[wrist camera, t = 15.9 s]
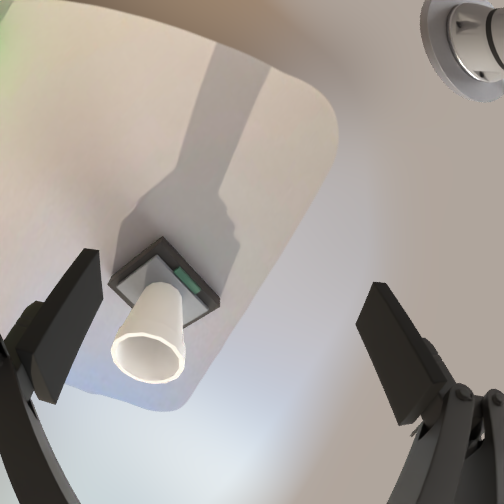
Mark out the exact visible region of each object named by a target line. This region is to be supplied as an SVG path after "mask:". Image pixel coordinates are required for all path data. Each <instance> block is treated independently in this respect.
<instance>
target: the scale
mask: <svg viewBox="0 0 504 504" xmlns="http://www.w3.org/2000/svg"><path fill="white" fill-rule="evenodd" d="M156 282H164V283H168V284H171V285H172V286H173V287H175V288H176V289H178V291H179V293H180V294H181V296H182V317H183V329H184V328H185V327H187V326H189V325H190V324H192V323H194V322H195V321H197V320H199V319H200V318H202V317H204V316H205V315H207V314H209V313H210V312H212V311H214V310H215V309H217V308H219V307H220V298H219V297H218V296H217V294H216V293H215V292H214V291H213V290H212V289H211V288H210V287H209V286H208V285H207V284H206V283H205V282H204V281H203V280H202V279H201V278H200V276H199V275H198V274H197V273H196V272H195V271H194V270H193V269H192V268H191V267H190V266H189V265H188V263H187V262H186V261H185V260H184V259H183V258H182V257H181V256H180V255H179V254H178V253H177V251H176V250H175V249H174V248H173V247H172V246H171V245H170V244H169V243H168V242H167V240H166V239H165V238H164V237H161V238H160V239H159V240H157V241H156V242H155V243H154V244H152V245H151V246H150V247H148V248H147V249H146V250H144V251H143V252H142V253H141V254H139V255H138V256H137V257H136V258H134V259H133V260H132V261H130V262H129V263H128V264H127V265H125V266H124V267H123V268H122V269H120V270H119V271H118V272H117V273H115V274H114V275H113V276H112V277H111V279H110V281H109V283H108V286H109V287H110V288H111V289H113V290H114V291H115V292H116V293H117V294H118V295H119V296H120V297H121V298H122V299H123V300H124V301H125V302H126V303H127V304H128V305H129V306H130V307H131V308H132V309H133V307H134V305H135V304H136V302H137V301H138V299H139V297H140V296H141V294H142V292H143V291H144V289H145V288H146V287H147V286H148V285H150V284H152V283H156Z"/></svg>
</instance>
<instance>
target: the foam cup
mask: <svg viewBox="0 0 504 504" xmlns="http://www.w3.org/2000/svg"><path fill="white" fill-rule="evenodd" d="M111 354H112V358H113V361H114V363H115V364H116V365H117V366H118V367H119V369H120V370H121V371H122V372H123V373H125V374H127V375H128V376H130V377H132V378H134V379H135V380H139V381H142V382H146V383H150V384H154V383H167V382H169V381H172V380H174V379H176V378H178V377H179V375H180V374H181V372H182V371H183V370H184V364H185V344H184V342H183V317H182V296H181V294H180V293H179V291H178V289H176V288H175V287H173V286H172V285H171V284H168V283H164V282H156V283H152V284H150V285H148V286H147V287H146V288H145V289H144V291H143V292H142V294H141V296H140V297H139V299H138V301H137V302H136V304H135V305H134V307H133V309H132V310H131V312H130V314H129V315H128V317H127V319H126V320H125V322H124V324H123V325H122V326H121V327H120V328H119V330H118V332H117V334H116V337H115V339H114V342H113V345H112V348H111Z"/></svg>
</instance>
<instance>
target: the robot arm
mask: <svg viewBox="0 0 504 504" xmlns="http://www.w3.org/2000/svg"><path fill="white" fill-rule="evenodd" d="M446 36H447V41H448V44H449V48H450V50H451V53H452V55H453V57H454V59H455V60H456V62H457V63H458V65H459V66H460V68H461V69H462V70H463V71H464V72H465V73H466V74H467V75H468V76H470V77H471V78H473V79H474V80H477V81H480V82H487V83H491V82H497V81H499V80H502V79H504V8H498V9H494V8H490V7H487V6H483V5H479V4H475V3H463V4H459V5H456V6H455V7H453V8H452V9H451V11H450V12H449V14H448V16H447V20H446ZM102 301H103V291H102V281H101V271H100V259H99V250H94V249H86V248H84V249H83V251H82V252H81V253H80V254H79V256H78V257H77V258H76V260H75V261H74V262H73V263H72V265H71V266H70V267H69V269H68V270H67V271H66V273H65V274H64V275H63V277H62V278H61V279H60V281H59V282H58V284H57V285H56V286H55V288H54V289H53V291H52V292H51V293H50V295H49V296H48V298H47V299H46V301H45V302H39V301H35V302H33V303H32V304H31V305H29V306H28V307H27V308H26V309H25V310H24V312H23V313H22V315H21V317H20V318H19V319H18V320H17V322H16V325H14V326H13V328H12V329H11V331H10V332H9V334H8V335H7V337H6V338H5V340H4V341H3V339H2V337H1V334H0V454H1V457H2V460H3V463H4V466H5V469H6V471H7V474H8V477H9V479H10V482H11V484H12V487H13V489H14V491H15V493H16V496H17V498H18V501H19V503H20V504H81V503H80V502H79V500H78V498H77V496H76V495H75V493H74V492H73V490H72V488H71V486H70V484H69V482H68V480H67V479H66V477H65V475H64V473H63V471H62V469H61V467H60V465H59V463H58V461H57V459H56V457H55V455H54V453H53V450H52V448H51V446H50V444H49V442H48V439H47V437H46V435H45V432H44V430H43V428H42V425H41V423H40V420H39V418H38V415H37V413H36V410H35V407H34V405H33V402H32V400H31V395H32V393H33V391H35V393H36V395H37V397H38V399H39V400H42V401H45V402H49V403H52V404H56V403H57V400H58V397H59V395H60V393H61V390H62V388H63V385H64V383H65V380H66V378H67V376H68V373H69V371H70V369H71V366H72V364H73V362H74V359H75V357H76V355H77V353H78V351H79V348H80V346H81V344H82V342H83V340H84V337H85V335H86V333H87V331H88V329H89V327H90V325H91V323H92V321H93V319H94V317H95V315H96V313H97V311H98V309H99V307H100V305H101V303H102ZM356 327H357V329H358V331H359V334H360V336H361V338H362V340H363V342H364V344H365V347H366V349H367V351H368V353H369V356H370V358H371V360H372V362H373V365H374V367H375V370H376V372H377V374H378V377H379V379H380V381H381V384H382V386H383V388H384V391H385V393H386V395H387V398H388V400H389V403H390V405H391V408H392V410H393V413H394V415H395V418H396V420H397V423H398V425H399V426H401V425H406V424H412V423H413V422H415V421H416V419H417V418H418V417H419V416H420V415H421V417H422V419H423V421H422V422H421V424H420V425H419V426H418V427H417V428H416V429H415V430H414V431H413V432H412V434H411V435H410V436H411V437H412V436H413V435H414V434H415V433H417V434H416V436H415V439H414V442H413V444H412V447H411V450H410V452H409V455H408V457H407V459H406V462H405V465H404V467H403V469H402V471H401V474H400V476H399V478H398V481H397V483H396V485H395V487H394V490H393V491H392V494H391V496H390V498H389V500H388V502H387V504H504V394H503V393H502V392H501V391H499V390H497V389H491V390H489V391H488V392H487V393H486V395H485V396H484V397H483V396H476V395H474V394H473V392H472V391H471V390H470V388H468V387H467V386H466V385H463V384H461V383H456V382H455V381H454V379H453V377H452V375H451V374H450V372H449V371H448V369H447V367H446V365H445V364H444V362H443V361H442V359H441V357H440V356H439V355H438V352H437V351H436V349H435V348H434V346H433V345H432V344H431V343H430V342H429V341H428V340H427V339H426V338H422V337H421V336H420V334H419V332H418V331H417V329H416V328H415V326H414V324H413V323H412V321H411V320H410V318H409V317H408V315H407V314H406V312H405V311H404V309H403V308H402V306H401V305H400V303H399V302H398V300H397V299H396V297H395V296H394V294H393V293H392V291H391V290H390V288H389V287H388V285H387V284H386V283H381V282H373V284H372V286H371V289H370V291H369V294H368V296H367V299H366V301H365V303H364V306H363V308H362V310H361V313H360V315H359V318H358V320H357V322H356ZM483 433H485V438H484V439H483V440H481V435H482V434H483Z"/></svg>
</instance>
